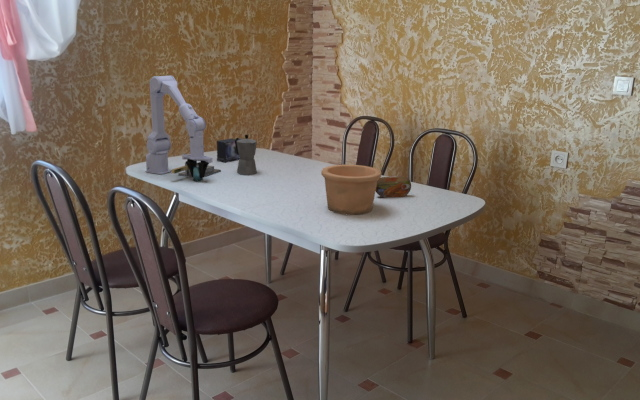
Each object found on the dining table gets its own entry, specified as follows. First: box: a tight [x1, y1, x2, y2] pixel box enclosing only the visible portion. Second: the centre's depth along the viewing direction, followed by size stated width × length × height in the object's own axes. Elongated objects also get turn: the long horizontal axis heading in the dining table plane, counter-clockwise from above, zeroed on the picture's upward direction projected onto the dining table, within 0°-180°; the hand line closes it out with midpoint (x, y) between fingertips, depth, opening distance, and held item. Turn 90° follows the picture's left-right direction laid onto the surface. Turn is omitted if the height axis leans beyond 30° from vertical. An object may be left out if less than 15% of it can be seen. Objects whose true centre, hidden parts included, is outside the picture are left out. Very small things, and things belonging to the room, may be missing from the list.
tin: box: [375, 175, 412, 199], centre depth 219 cm, size 15×3×8 cm, turn 105°
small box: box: [216, 138, 240, 163], centre depth 278 cm, size 11×6×10 cm, turn 143°
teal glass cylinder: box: [192, 166, 204, 182], centre depth 237 cm, size 4×4×6 cm
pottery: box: [320, 164, 382, 216], centre depth 201 cm, size 22×22×14 cm
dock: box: [177, 162, 222, 178], centre depth 250 cm, size 12×16×6 cm
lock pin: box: [170, 162, 199, 175], centre depth 239 cm, size 3×16×2 cm, turn 156°
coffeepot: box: [235, 134, 258, 176], centre depth 252 cm, size 15×9×18 cm, turn 44°
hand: (197, 177), depth 238 cm, fingers closed on teal glass cylinder, 4 cm apart
